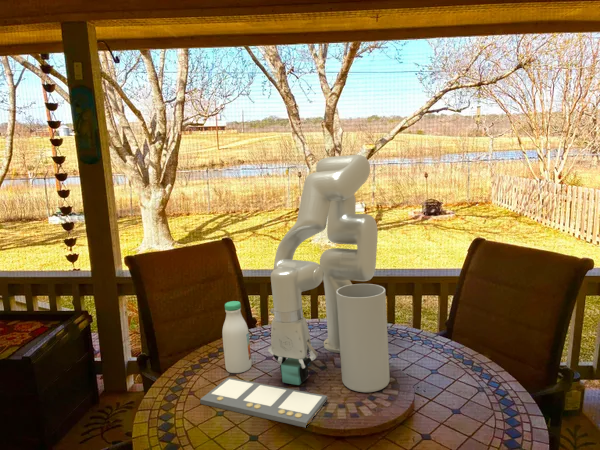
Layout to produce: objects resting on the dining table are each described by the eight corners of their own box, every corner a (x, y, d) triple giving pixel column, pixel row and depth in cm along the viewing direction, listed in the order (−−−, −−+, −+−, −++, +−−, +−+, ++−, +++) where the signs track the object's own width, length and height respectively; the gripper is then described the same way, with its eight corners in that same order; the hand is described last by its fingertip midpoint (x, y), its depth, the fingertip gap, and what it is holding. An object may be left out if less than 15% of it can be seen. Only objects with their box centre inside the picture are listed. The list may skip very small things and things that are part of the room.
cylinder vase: (361, 366, 124) (356, 281, 121) (399, 379, 115) (394, 288, 112) (332, 383, 115) (326, 292, 112) (370, 399, 106) (365, 300, 103)
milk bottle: (247, 374, 124) (240, 307, 122) (221, 373, 126) (214, 307, 123) (255, 362, 132) (249, 298, 129) (231, 361, 133) (224, 299, 131)
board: (228, 381, 121) (227, 376, 121) (327, 400, 107) (327, 394, 107) (200, 403, 110) (199, 398, 110) (306, 427, 97) (305, 421, 97)
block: (291, 373, 121) (289, 356, 120) (307, 376, 119) (305, 358, 118) (282, 382, 117) (280, 364, 116) (299, 385, 114) (297, 367, 114)
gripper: (253, 316, 115) (261, 380, 118) (311, 322, 108) (317, 390, 110) (268, 306, 122) (274, 367, 125) (323, 311, 114) (329, 376, 117)
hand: (294, 377), depth 118 cm, fingers closed on block, 5 cm apart
